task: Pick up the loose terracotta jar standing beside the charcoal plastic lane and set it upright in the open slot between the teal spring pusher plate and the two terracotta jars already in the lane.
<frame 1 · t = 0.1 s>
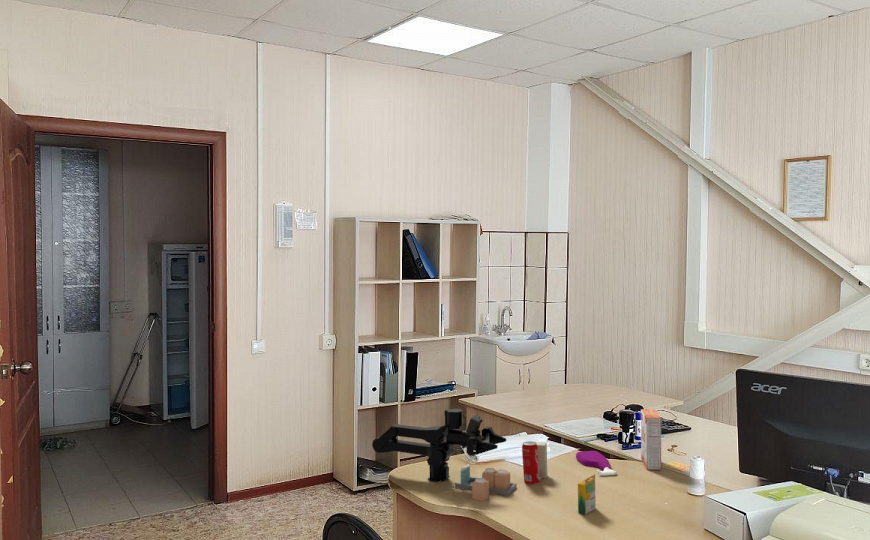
hand: (501, 443, 251), 17 cm above the table, tool horizontal, fingers open, 9 cm apart
lane: (485, 488, 251), on the table
loose jar: (480, 498, 241), on the table
crayon box: (586, 511, 230), on the table
front jar: (502, 489, 249), resting on lane
pusher plate: (465, 474, 255), point 4 cm above the table, slide at 0.0 cm
middle jar: (490, 488, 251), resting on lane
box: (539, 477, 264), on the table
beverage can: (530, 483, 257), on the table
cracker box: (650, 465, 277), on the table
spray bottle: (597, 467, 276), on the table
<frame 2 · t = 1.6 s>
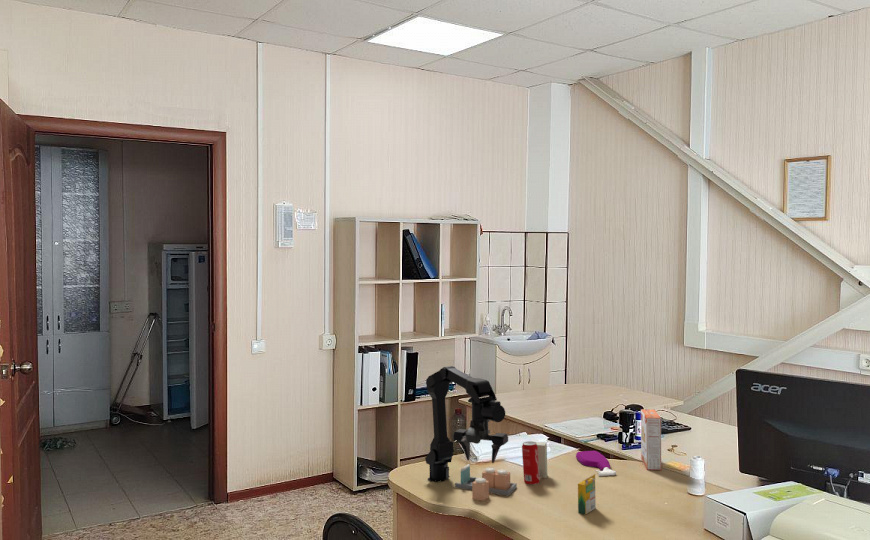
hand: (480, 461, 241), 13 cm above the table, tool pointing down, fingers open, 9 cm apart
nothing on the table moved.
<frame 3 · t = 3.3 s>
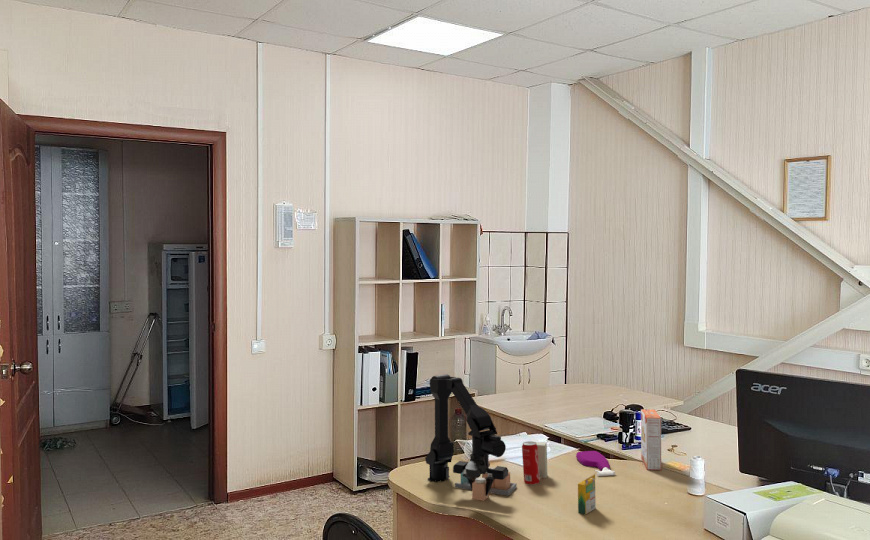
hand: (480, 494, 241), 2 cm above the table, tool pointing down, fingers closed on loose jar, 4 cm apart
loose jar: (480, 498, 241), on the table, touching gripper
everything else where it was.
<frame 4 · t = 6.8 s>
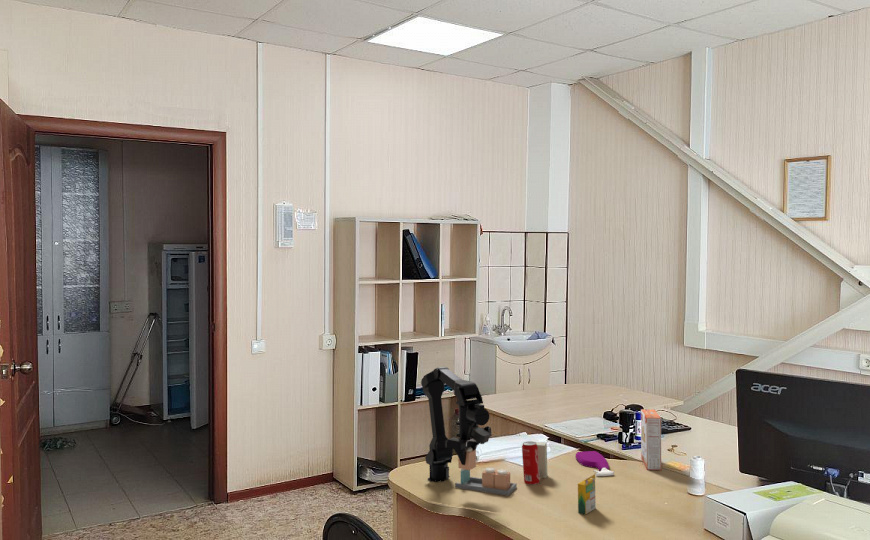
hand: (467, 463, 243), 12 cm above the table, tool pointing down, fingers closed on loose jar, 4 cm apart
loose jar: (467, 467, 243), point 10 cm above the table, touching gripper
everything else where it was.
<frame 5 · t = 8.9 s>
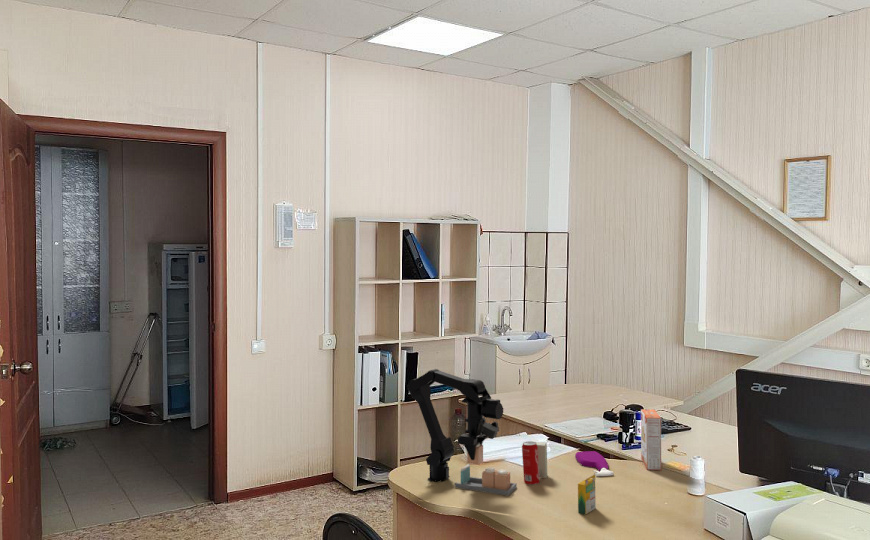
hand: (475, 458, 253), 11 cm above the table, tool pointing down, fingers closed on loose jar, 4 cm apart
loose jar: (475, 462, 253), point 9 cm above the table, touching gripper
when the fingers open (4 cm above the table, at t = 10.7 s): loose jar drops 2 cm, resting on lane.
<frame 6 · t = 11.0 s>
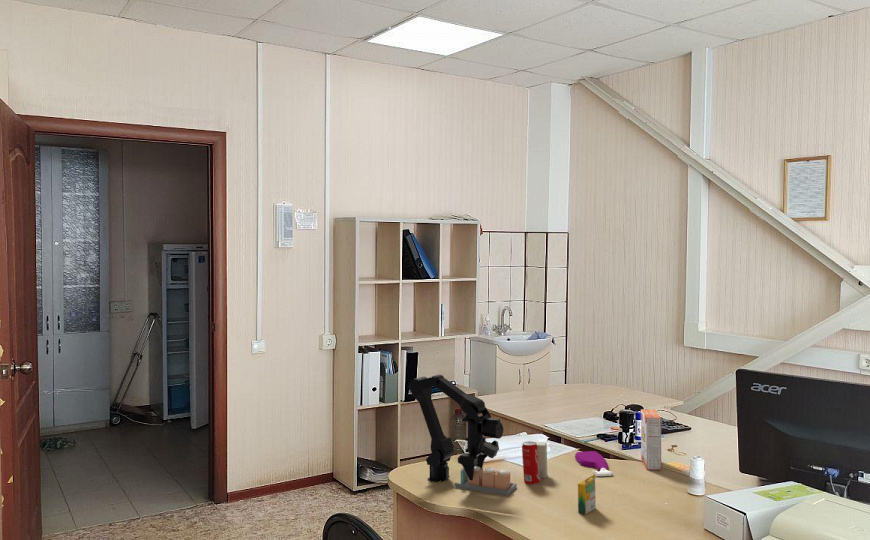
hand: (475, 476, 253), 4 cm above the table, tool pointing down, fingers open, 8 cm apart
loose jar: (475, 485, 253), resting on lane
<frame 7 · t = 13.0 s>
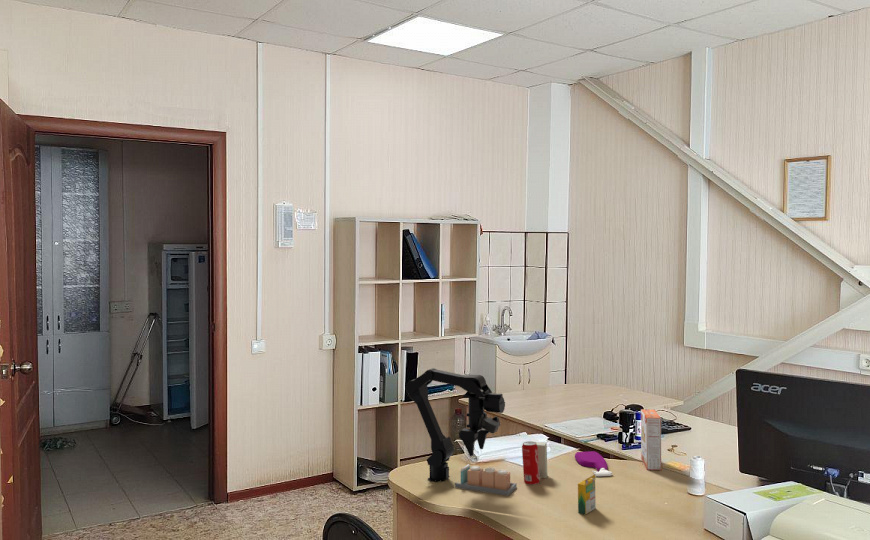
hand: (476, 452, 255), 12 cm above the table, tool pointing down, fingers open, 9 cm apart
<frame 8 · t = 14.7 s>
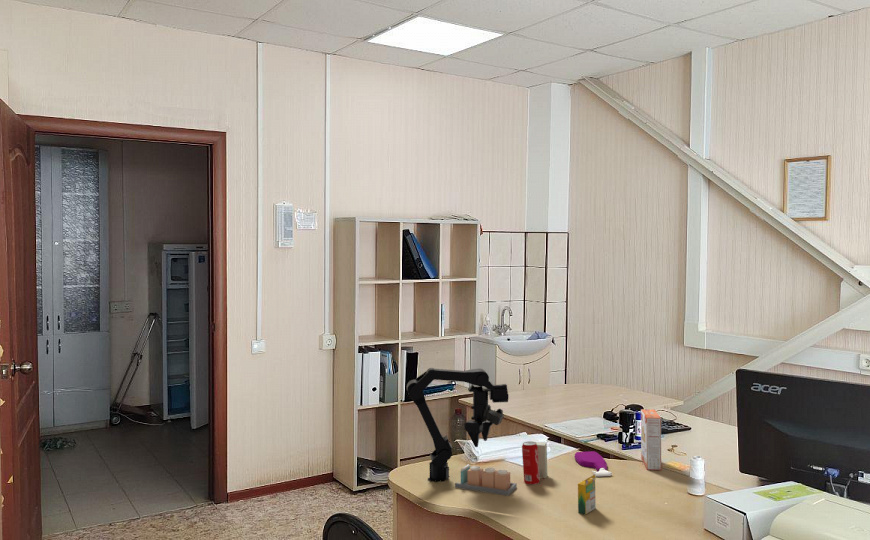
hand: (480, 443, 263), 13 cm above the table, tool pointing down, fingers open, 9 cm apart
at the end: loose jar 0.0 cm from the target spot on the lane, point 0.5 cm above the lane's base; loose jar tilted 0°; the gripper is holding nothing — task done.
